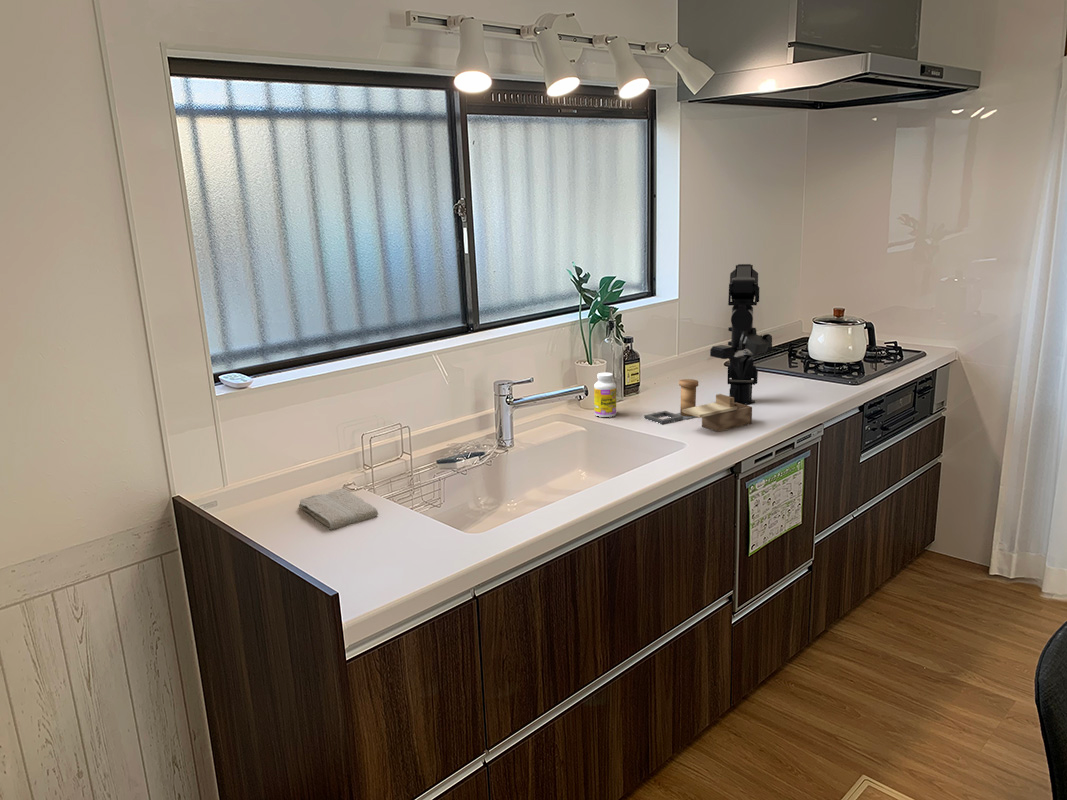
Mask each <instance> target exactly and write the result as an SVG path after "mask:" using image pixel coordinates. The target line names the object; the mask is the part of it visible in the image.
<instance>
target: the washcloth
mask: <svg viewBox="0 0 1067 800" xmlns="http://www.w3.org/2000/svg"><path fill="white" fill-rule="evenodd" d="M298 508H300V509H301V511H302V512H303V513H304V514H305V515H306V516H308V517H309V518H311V519H312V520H313V521H315V522H316V523H318V524H320V525H321V526H322V527H324V528H325V529H327V530H336V529H338V528H342V527H345V526H348V525H350V524H355V523H360V522H363V521H366V520H369V519H374V518H375V517H378V515H379V512H378V509H377V507H375V506H373V505H372V504H370V503H369V502H366V501H365V500H364V499H362V498H361V497H359V496H357V495H356V494H354V493H351V491H349V490H348V489H345V488H337V489H336V490H333V491H330V492H328V493H323V494H322V493H321V494H316V495H315V494H314V495H311V496H309V497H305V498H301V499H300V500H299V504H298Z"/></svg>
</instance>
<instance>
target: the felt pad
mask: <svg viewBox="0 0 1067 800" xmlns="http://www.w3.org/2000/svg"><path fill="white" fill-rule="evenodd" d="M676 414H677V415H680V412H677V413H676ZM680 416H682V415H680ZM690 418H691V419H695V418H697V417H696V416H683V420H690Z"/></svg>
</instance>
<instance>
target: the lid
mask: <svg viewBox="0 0 1067 800" xmlns="http://www.w3.org/2000/svg"><path fill="white" fill-rule="evenodd" d="M732 410H737V406H734V398H733V397H730V396H729V395H725V394H722V393H717V394H716V395H715V402H710V403H707V404H702V405H701V404H700V405H697V406H696V407H691V408H687V409H682V412H683V413H686V414H690V415H693V416H696V418H700V419H702V417H705V416H710V415H714V414H719V413H723V412H728V411H732Z"/></svg>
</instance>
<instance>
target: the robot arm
mask: <svg viewBox="0 0 1067 800" xmlns="http://www.w3.org/2000/svg"><path fill="white" fill-rule="evenodd" d="M758 303H760V286H759V273H758V272H757V270H755V269H754V267H753V264H751V263H738V264H735V268H734V270H732V271H731V272H730V273H729V284H728V303H727V306H732V307H731V317H730V323H731V326H729V327H728V332H731V340H730V341H727V345H723V344H719V345H714V346H712V347H711V348H710V349H709V351H710V353H709V354H710V355H709V356H710V357H713V358H716V359H721V360H729V363H730V364H727V385H730V388H729V393H728V394H729V395H728V396H730V397H733V398H734V403H740V404H744V405H749V404H753V403H756V400H753V398H752V397H753V385H754V386H755V385H756V384H757V385H758V378H759V377H758V376H759V375H758V374H759V372H758V371H759V370H758V369H757V366H756V364H754V358H755V357H757V356H758V355H760V354H766V353H767V352H771V351H772V352H773V335H771V334H769V333H766V334H763V335H762V334H761V335H758V333H757V328H756V327H753V326H754V325H753V324H754V321H753V320H754V306H757V305H758Z"/></svg>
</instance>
